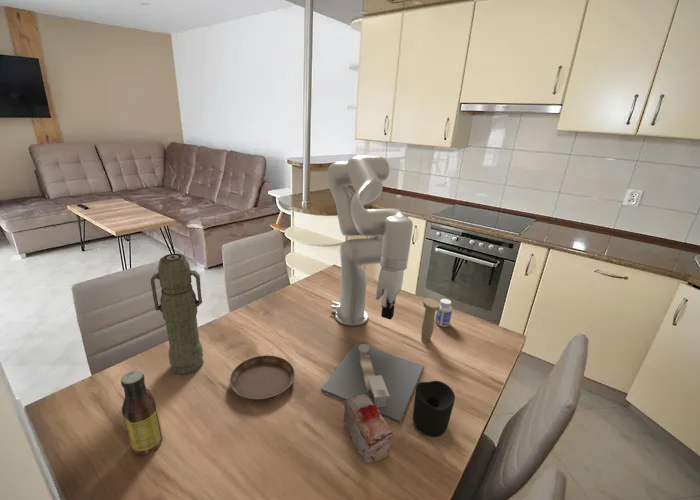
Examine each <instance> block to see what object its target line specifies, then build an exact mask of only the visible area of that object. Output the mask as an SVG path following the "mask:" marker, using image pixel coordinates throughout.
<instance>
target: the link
mask: <svg viewBox="0 0 700 500" xmlns="http://www.w3.org/2000/svg"><path fill="white" fill-rule="evenodd" d="M359 361H360V365H361V369H362V373H363V378H364V382H365V386H366V390H367V394H368V395H373V393H372V391H371V388H370V385H369V382H368V379H367V378H368V377H369V376H375V374H374V370H373V366H372V363H371V359H370V356H369V355H360V358H359Z"/></svg>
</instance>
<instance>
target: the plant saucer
mask: <svg viewBox="0 0 700 500" xmlns="http://www.w3.org/2000/svg"><path fill="white" fill-rule="evenodd" d="M295 374H296V372H295V369H294V366H293V365H292V363H291V362H289V361H288V360H287V359H284V358H282V357H280V356H275V355H269V354H267V355H264V354H263V355H258V356H254V357H253V356H252V357H251V358H248V359H246V360H243V362H241V363H239V364H238V365H237V366H236V367H235V368H234V369H233V370H232V372H231V374H230V377H229V385H230V388H231V389H232V391H233V392H234V393H235V394H237V396H239V397H240V398H242V399H245V400H247V401H251V402H257V403H259V402H260V403H261V402H267V401H272V400H273V399H276V398H277V397H279V396H281V395H282V394H283V393H285V392H286V391H287V390H288V389H289V388H290V386H291V385H292V383H293V382H294V380H295V376H296V375H295Z"/></svg>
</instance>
